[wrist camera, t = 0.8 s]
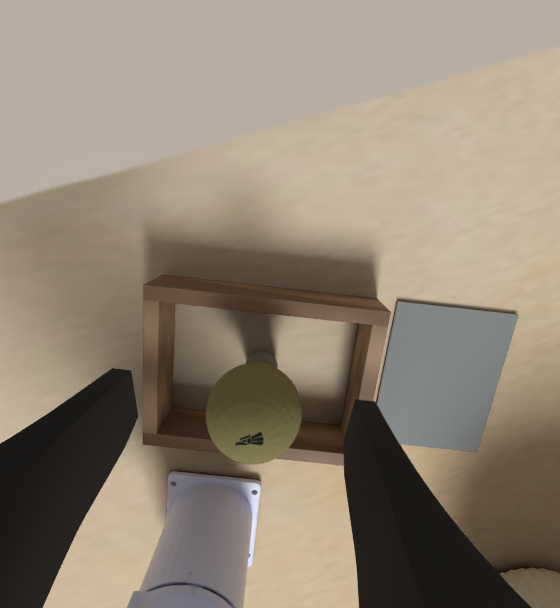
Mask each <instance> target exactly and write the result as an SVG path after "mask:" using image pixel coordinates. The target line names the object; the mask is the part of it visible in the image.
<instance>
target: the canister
mask: <svg viewBox="0 0 560 608" xmlns="http://www.w3.org/2000/svg"><path fill="white" fill-rule="evenodd" d="M500 575H501V576H502V577H503V578H504V579H505V580H506V582H507V583H508V584H509V585H510V586H511V587H512V588H513V589H514V590H515V591H516V592H517V593H518V594H519V595H520V596H521V597H522V598H523V599H524V600H525V601H526V602H527V603H528V604H529V605H530V606H531V607H532V608H560V573H558V572H556V571H553V570H549V571H548V570H546V569H543V568H540V569H535V568H532V567H531V568H528V569H524V568H520V569H517V570H512V569H511V570H510V571H508V572H501V573H500Z"/></svg>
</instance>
